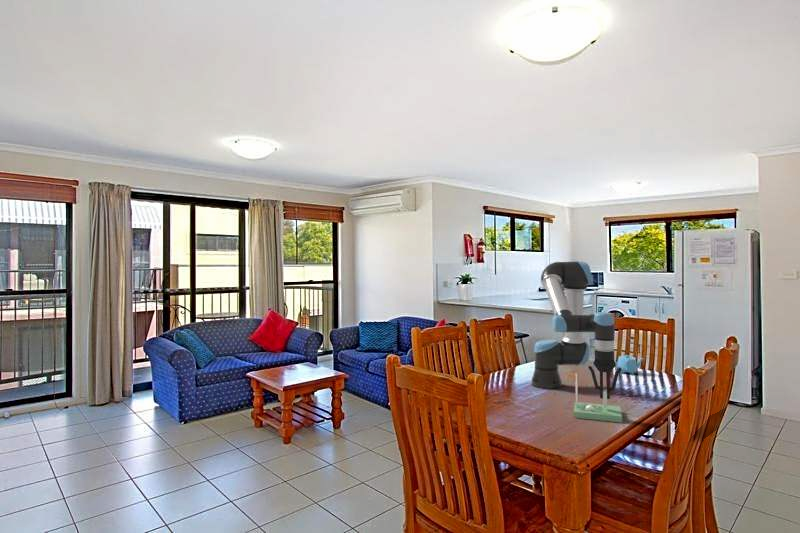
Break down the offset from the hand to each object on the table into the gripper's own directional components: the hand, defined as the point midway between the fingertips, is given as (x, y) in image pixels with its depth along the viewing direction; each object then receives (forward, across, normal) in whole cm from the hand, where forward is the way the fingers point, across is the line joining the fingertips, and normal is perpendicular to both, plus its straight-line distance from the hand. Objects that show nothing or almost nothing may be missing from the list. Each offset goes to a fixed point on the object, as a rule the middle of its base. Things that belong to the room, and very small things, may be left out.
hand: (605, 406), depth 193 cm
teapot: (+4, +14, +86) cm, 87 cm away
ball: (+2, -6, 0) cm, 6 cm away
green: (+4, -4, 0) cm, 6 cm away
